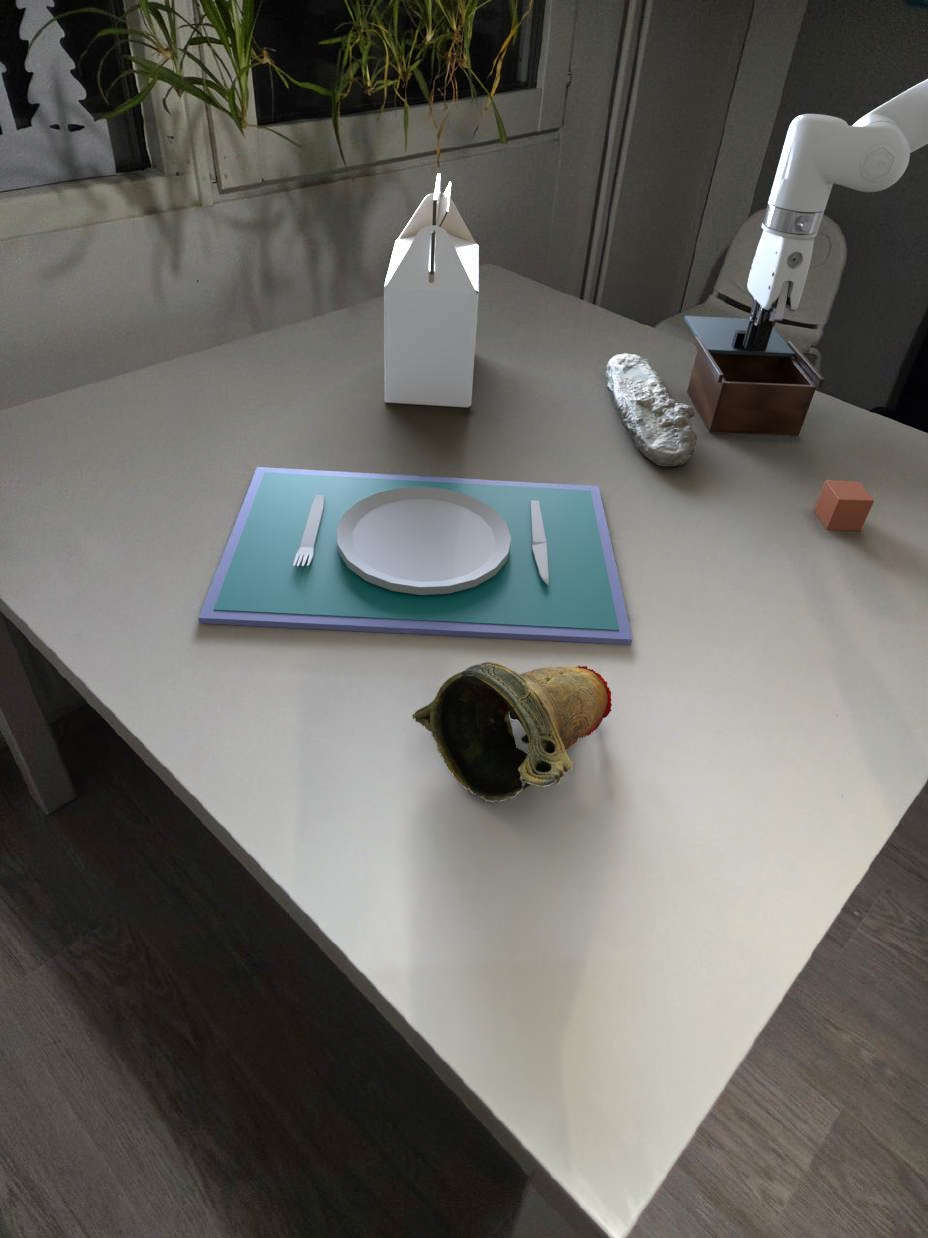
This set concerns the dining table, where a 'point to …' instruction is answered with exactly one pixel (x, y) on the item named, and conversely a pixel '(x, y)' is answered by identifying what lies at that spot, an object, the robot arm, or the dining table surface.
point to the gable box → (431, 308)
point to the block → (843, 505)
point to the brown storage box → (752, 391)
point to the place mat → (420, 558)
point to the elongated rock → (650, 411)
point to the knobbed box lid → (733, 336)
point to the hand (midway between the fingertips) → (753, 348)
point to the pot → (482, 732)
